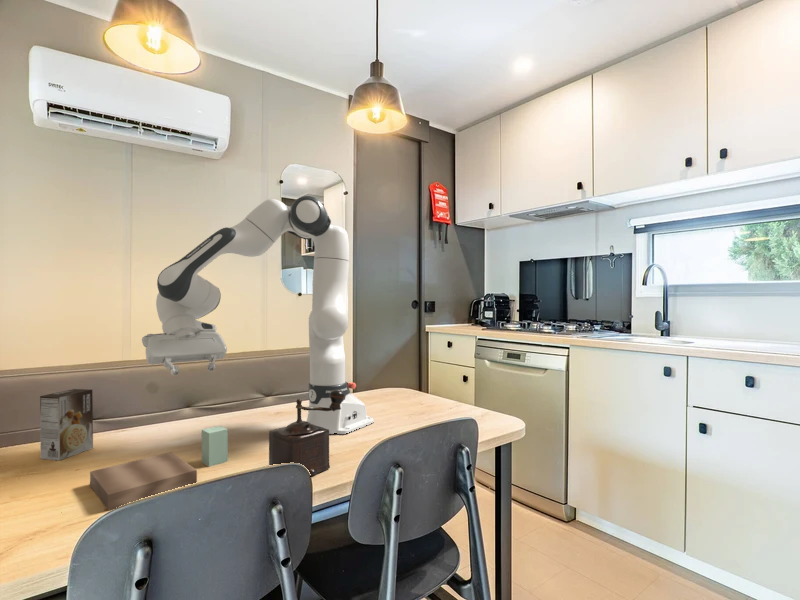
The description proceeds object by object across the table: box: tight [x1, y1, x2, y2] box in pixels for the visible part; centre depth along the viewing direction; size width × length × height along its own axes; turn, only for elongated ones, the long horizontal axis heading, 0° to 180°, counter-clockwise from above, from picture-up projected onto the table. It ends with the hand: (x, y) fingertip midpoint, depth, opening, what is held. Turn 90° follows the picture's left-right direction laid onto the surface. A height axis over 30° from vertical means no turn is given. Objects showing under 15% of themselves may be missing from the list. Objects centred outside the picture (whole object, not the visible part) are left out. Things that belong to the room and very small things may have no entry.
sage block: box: [201, 425, 229, 468], centre depth 102 cm, size 4×4×8 cm
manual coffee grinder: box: [268, 390, 346, 477], centre depth 99 cm, size 16×11×18 cm
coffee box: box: [39, 388, 94, 461], centre depth 108 cm, size 9×6×16 cm
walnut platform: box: [89, 451, 198, 512], centre depth 89 cm, size 16×16×3 cm
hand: (194, 371), depth 111 cm, fingers open, 8 cm apart
